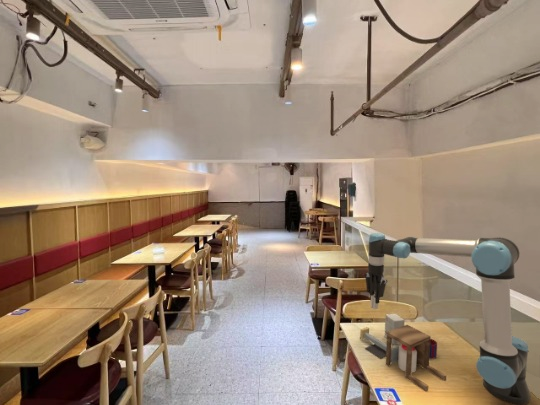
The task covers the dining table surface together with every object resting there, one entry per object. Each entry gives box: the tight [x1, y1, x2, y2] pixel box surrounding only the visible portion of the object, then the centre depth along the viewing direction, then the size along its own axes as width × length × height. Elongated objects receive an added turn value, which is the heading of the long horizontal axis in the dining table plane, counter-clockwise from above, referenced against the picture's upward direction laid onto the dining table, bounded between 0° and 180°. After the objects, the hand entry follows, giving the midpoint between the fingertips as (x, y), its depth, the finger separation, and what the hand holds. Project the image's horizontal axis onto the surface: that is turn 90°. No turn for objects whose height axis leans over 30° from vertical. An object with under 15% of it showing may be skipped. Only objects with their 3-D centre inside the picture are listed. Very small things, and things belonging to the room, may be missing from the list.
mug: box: [429, 338, 438, 359], centre depth 148 cm, size 7×10×7 cm
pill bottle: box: [397, 344, 417, 373], centre depth 138 cm, size 8×8×11 cm
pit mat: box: [364, 343, 386, 360], centre depth 151 cm, size 10×12×1 cm
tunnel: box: [385, 324, 447, 392], centre depth 134 cm, size 20×14×16 cm
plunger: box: [359, 326, 402, 364], centre depth 152 cm, size 22×9×6 cm, turn 30°
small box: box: [384, 313, 406, 345], centre depth 160 cm, size 8×6×13 cm
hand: (374, 308), depth 154 cm, fingers closed
